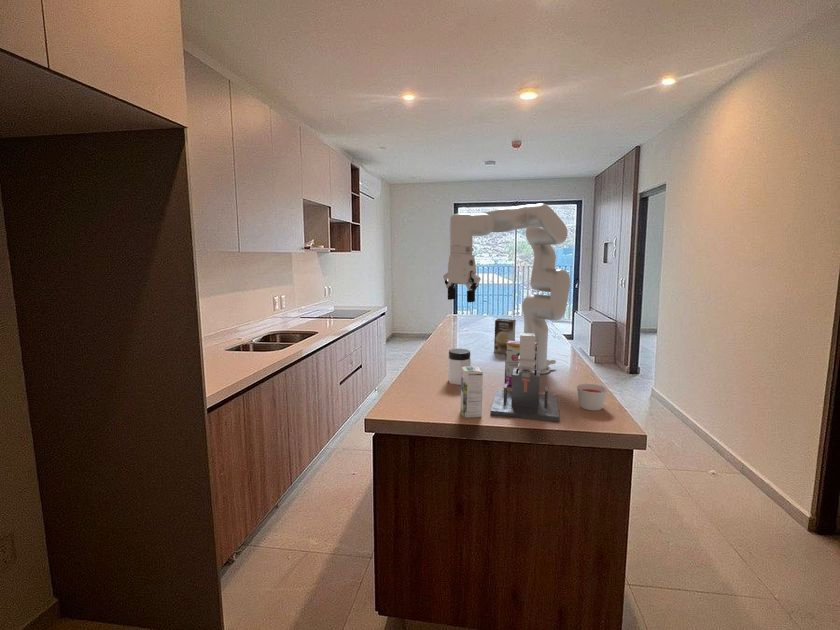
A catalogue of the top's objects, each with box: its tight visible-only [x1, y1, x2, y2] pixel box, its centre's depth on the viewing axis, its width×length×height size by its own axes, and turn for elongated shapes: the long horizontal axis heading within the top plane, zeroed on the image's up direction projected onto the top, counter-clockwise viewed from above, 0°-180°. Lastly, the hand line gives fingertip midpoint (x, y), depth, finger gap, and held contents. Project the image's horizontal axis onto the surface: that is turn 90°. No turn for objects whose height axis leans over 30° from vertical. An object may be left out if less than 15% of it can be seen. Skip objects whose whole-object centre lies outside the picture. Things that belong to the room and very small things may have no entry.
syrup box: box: [460, 365, 484, 419], centre depth 132 cm, size 6×6×14 cm
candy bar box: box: [504, 340, 538, 387], centre depth 159 cm, size 11×5×16 cm, turn 71°
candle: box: [576, 383, 608, 411], centre depth 138 cm, size 9×9×6 cm
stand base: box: [490, 368, 560, 423], centre depth 138 cm, size 20×20×13 cm
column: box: [518, 332, 535, 375], centre depth 137 cm, size 5×5×22 cm
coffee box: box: [493, 318, 517, 355], centre depth 209 cm, size 9×6×16 cm
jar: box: [447, 348, 472, 386], centre depth 164 cm, size 9×8×12 cm
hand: (461, 300), depth 150 cm, fingers open, 9 cm apart
